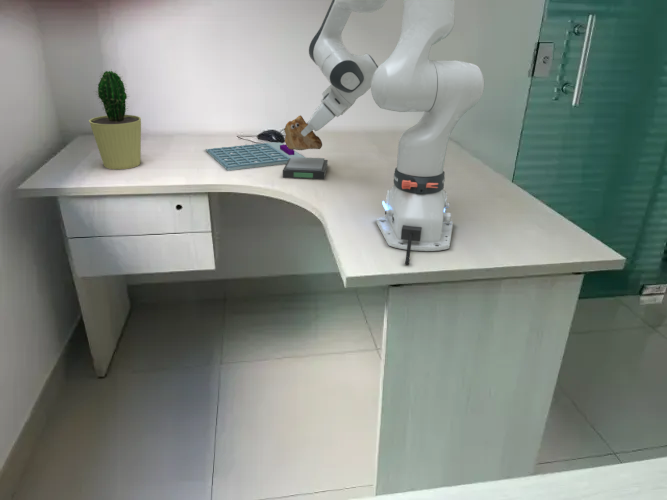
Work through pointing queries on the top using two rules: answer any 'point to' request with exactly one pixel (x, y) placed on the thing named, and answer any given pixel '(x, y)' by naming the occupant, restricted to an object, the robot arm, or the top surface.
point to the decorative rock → (300, 136)
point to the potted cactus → (116, 126)
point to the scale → (305, 168)
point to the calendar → (252, 155)
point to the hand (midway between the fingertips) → (304, 131)
